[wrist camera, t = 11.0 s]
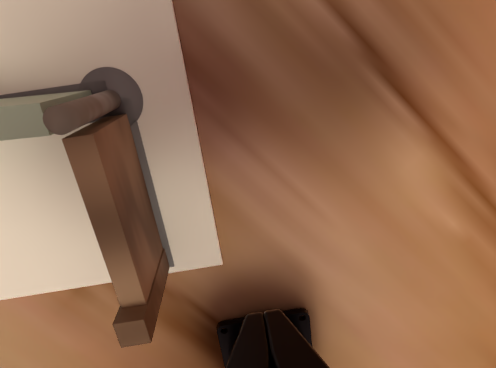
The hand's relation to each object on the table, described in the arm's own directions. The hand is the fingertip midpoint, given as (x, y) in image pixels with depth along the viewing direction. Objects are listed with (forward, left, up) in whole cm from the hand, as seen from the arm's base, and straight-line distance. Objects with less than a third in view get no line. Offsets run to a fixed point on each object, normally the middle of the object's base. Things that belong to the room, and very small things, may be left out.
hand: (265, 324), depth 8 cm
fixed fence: (0, +6, -12) cm, 13 cm away
